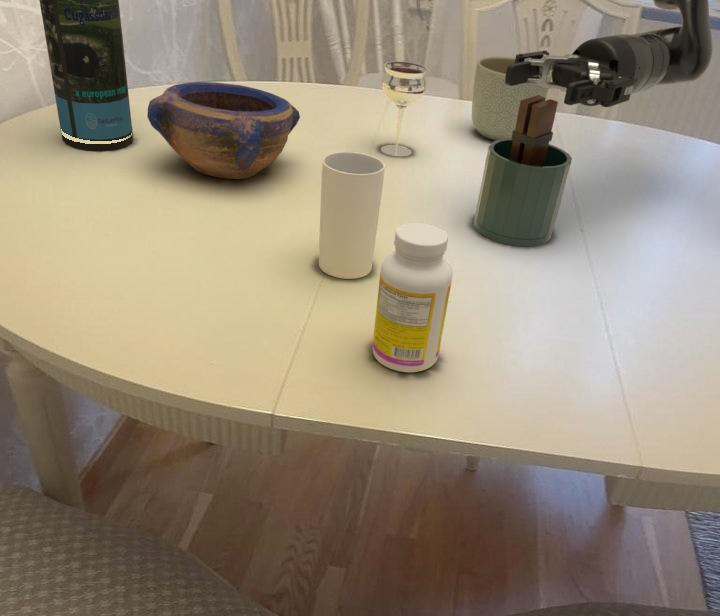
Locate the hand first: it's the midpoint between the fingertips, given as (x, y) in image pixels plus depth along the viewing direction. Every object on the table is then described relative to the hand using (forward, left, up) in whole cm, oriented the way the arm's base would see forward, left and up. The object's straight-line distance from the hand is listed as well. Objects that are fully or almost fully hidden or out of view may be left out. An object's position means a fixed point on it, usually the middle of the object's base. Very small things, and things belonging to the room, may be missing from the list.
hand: (537, 85), depth 88 cm
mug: (+21, +12, -18) cm, 30 cm away
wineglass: (+13, -28, -18) cm, 36 cm away
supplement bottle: (+16, +32, -18) cm, 40 cm away
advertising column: (+58, -22, -18) cm, 65 cm away
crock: (-1, -1, -18) cm, 18 cm away
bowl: (+38, -15, -18) cm, 45 cm away
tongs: (-1, -1, -17) cm, 17 cm away
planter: (-6, -40, -18) cm, 45 cm away
